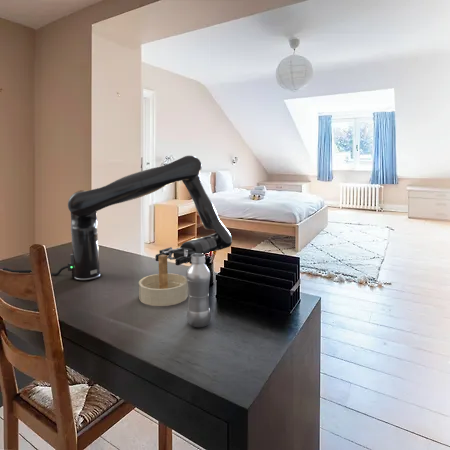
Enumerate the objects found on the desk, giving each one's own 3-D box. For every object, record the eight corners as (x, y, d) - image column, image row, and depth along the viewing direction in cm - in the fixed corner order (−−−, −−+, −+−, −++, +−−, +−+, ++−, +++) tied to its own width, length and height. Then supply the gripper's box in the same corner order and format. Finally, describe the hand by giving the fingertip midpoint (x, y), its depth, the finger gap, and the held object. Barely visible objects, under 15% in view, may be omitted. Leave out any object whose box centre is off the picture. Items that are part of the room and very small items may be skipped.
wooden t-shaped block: (155, 296, 116) (154, 255, 114) (160, 293, 118) (159, 253, 116) (167, 299, 114) (166, 257, 111) (172, 296, 116) (171, 255, 113)
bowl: (131, 305, 110) (130, 287, 109) (150, 288, 125) (150, 271, 124) (179, 310, 107) (179, 291, 106) (193, 291, 122) (192, 274, 121)
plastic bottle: (207, 331, 94) (207, 259, 90) (183, 328, 95) (182, 257, 92) (213, 320, 100) (213, 252, 97) (190, 318, 102) (189, 251, 98)
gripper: (179, 237, 132) (149, 246, 118) (211, 242, 125) (183, 252, 111) (180, 256, 133) (150, 267, 119) (211, 262, 126) (183, 275, 112)
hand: (166, 260), depth 115 cm, fingers open, 8 cm apart
